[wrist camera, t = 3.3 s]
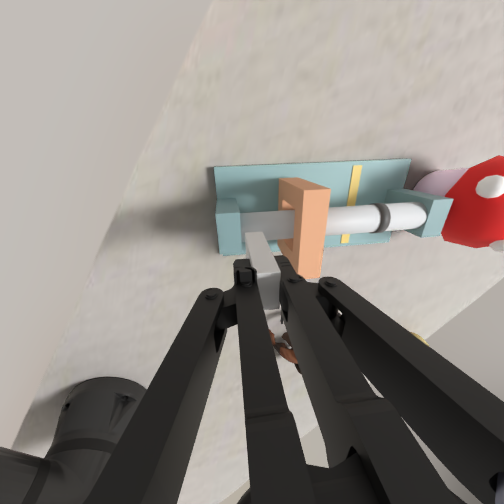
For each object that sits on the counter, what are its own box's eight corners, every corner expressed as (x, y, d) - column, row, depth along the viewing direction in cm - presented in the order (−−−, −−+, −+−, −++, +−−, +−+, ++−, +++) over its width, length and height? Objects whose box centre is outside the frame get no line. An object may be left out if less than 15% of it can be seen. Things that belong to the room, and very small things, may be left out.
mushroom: (422, 145, 28) (544, 141, 18) (483, 164, 31) (623, 171, 20) (385, 220, 33) (465, 254, 22) (440, 232, 35) (537, 268, 24)
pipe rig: (222, 253, 32) (223, 284, 24) (214, 166, 26) (210, 172, 19) (384, 239, 34) (429, 264, 27) (405, 158, 29) (468, 161, 21)
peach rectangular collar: (277, 245, 30) (297, 279, 22) (278, 178, 26) (304, 190, 18) (293, 243, 30) (319, 277, 22) (297, 177, 26) (331, 188, 18)
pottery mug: (258, 318, 39) (286, 335, 31) (296, 295, 43) (328, 306, 36) (275, 372, 41) (305, 399, 34) (310, 345, 45) (343, 365, 38)
